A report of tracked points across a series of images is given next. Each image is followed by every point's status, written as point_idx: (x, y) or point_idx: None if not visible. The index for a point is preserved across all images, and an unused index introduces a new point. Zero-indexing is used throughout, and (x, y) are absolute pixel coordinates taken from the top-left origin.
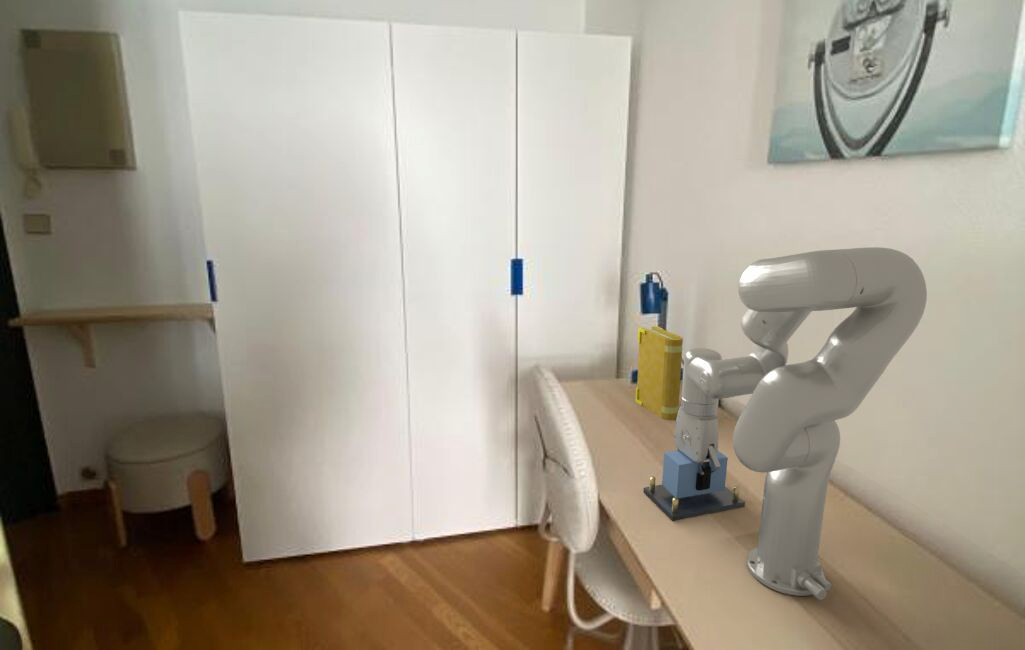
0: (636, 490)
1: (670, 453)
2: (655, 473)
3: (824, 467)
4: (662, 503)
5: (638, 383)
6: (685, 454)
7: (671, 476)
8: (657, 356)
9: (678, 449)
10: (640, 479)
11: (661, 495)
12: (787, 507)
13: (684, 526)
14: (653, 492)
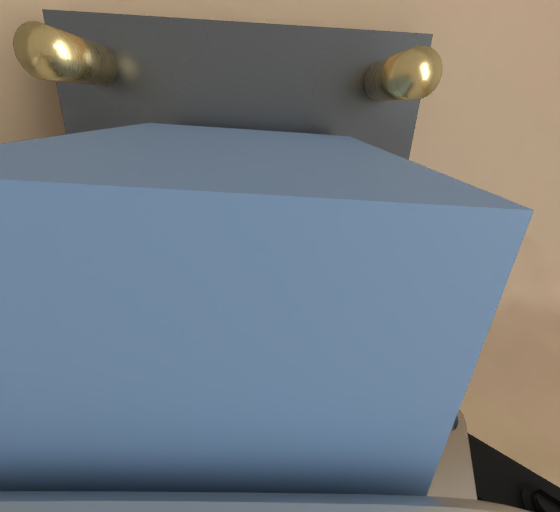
0: (461, 5)
1: (406, 305)
2: (536, 240)
3: None
4: (206, 40)
5: None
6: (154, 506)
7: (210, 140)
8: None
9: (507, 469)
10: (544, 119)
11: (297, 100)
12: None
13: (4, 62)
14: (349, 66)
